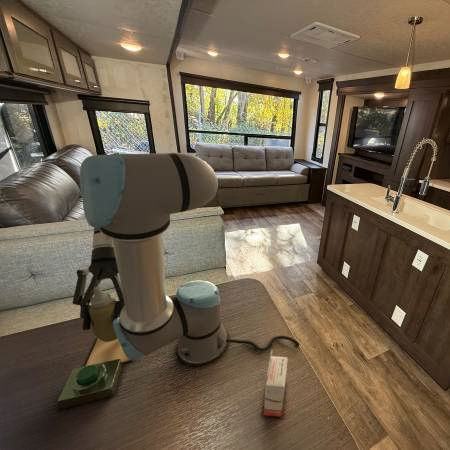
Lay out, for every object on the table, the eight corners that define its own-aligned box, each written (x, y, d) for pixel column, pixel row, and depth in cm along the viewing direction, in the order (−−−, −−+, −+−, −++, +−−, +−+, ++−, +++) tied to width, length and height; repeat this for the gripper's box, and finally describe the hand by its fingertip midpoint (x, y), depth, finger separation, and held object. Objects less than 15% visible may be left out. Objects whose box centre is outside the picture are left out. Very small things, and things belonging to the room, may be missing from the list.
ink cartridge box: (282, 417, 64) (286, 379, 58) (263, 415, 64) (265, 377, 58) (285, 385, 72) (288, 349, 66) (268, 383, 72) (270, 347, 66)
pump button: (100, 368, 67) (98, 363, 66) (95, 382, 64) (93, 377, 63) (82, 372, 66) (80, 367, 65) (76, 387, 62) (73, 381, 61)
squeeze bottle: (112, 348, 72) (95, 300, 64) (89, 342, 73) (69, 294, 66) (134, 327, 79) (121, 281, 72) (113, 322, 80) (98, 276, 73)
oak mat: (140, 330, 85) (140, 329, 85) (133, 360, 75) (132, 359, 75) (98, 338, 81) (98, 337, 80) (84, 371, 70) (83, 370, 70)
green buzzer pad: (122, 365, 73) (119, 353, 71) (113, 395, 65) (109, 382, 63) (76, 375, 69) (71, 363, 67) (60, 408, 61) (54, 396, 59)
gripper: (146, 249, 84) (145, 320, 77) (74, 255, 77) (65, 334, 70) (140, 242, 77) (138, 319, 70) (61, 248, 70) (50, 335, 63)
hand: (102, 326), depth 70 cm, fingers closed on squeeze bottle, 6 cm apart
